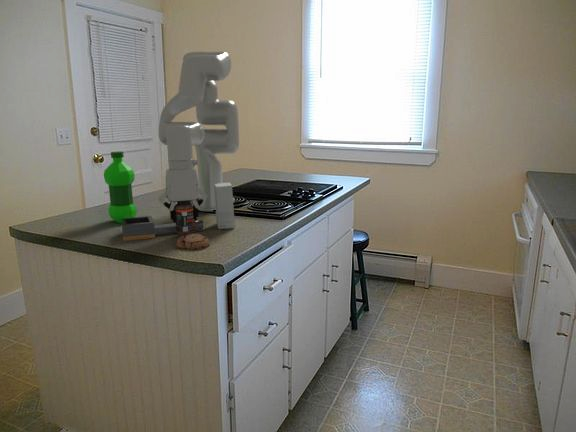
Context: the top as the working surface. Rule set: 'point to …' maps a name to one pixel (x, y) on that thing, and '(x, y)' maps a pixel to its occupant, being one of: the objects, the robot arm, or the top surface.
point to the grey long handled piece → (149, 228)
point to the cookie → (192, 242)
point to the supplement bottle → (184, 217)
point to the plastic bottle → (120, 188)
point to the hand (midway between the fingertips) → (184, 220)
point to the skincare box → (224, 205)
